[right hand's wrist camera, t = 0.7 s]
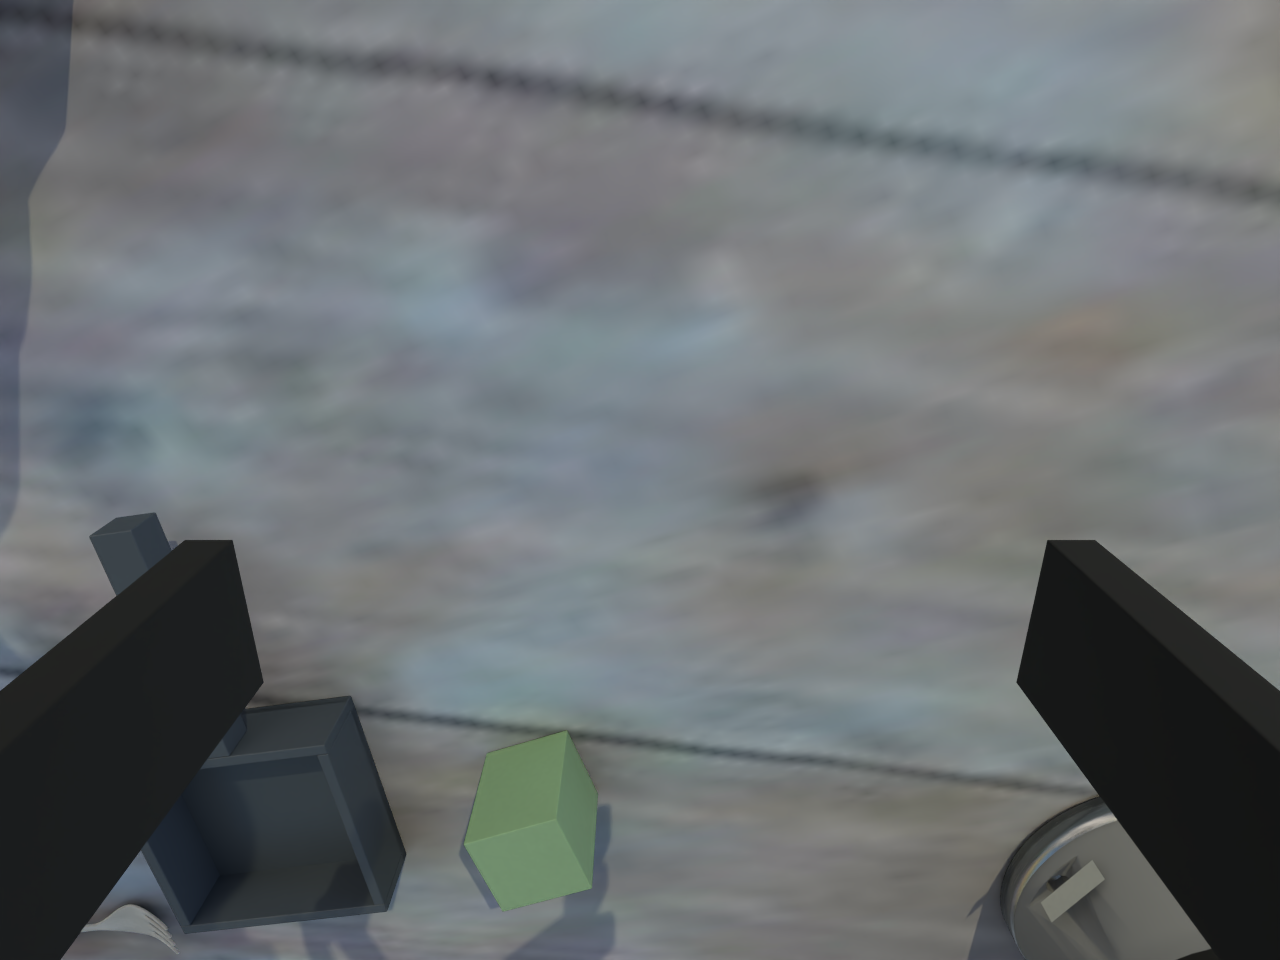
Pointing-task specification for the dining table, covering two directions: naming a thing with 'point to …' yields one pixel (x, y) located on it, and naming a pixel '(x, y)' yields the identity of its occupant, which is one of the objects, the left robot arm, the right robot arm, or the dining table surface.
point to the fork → (135, 924)
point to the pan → (268, 801)
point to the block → (534, 822)
